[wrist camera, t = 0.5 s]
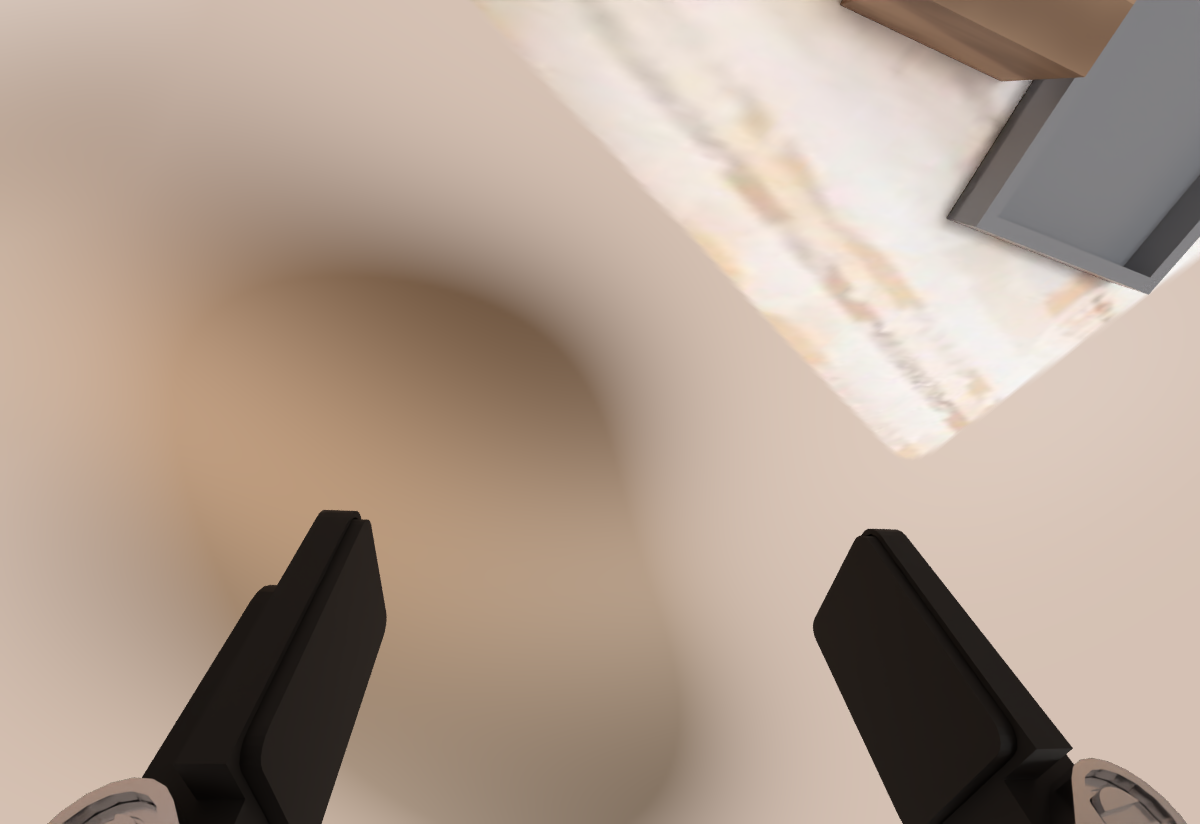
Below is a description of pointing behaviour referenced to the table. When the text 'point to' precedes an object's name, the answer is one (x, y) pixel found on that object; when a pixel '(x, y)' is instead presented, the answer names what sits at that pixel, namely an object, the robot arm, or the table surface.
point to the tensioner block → (1006, 32)
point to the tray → (1104, 156)
